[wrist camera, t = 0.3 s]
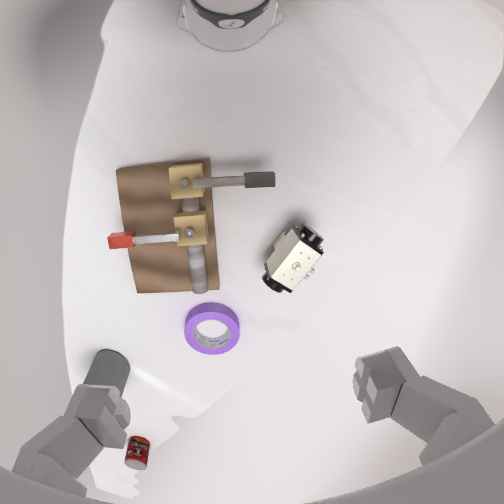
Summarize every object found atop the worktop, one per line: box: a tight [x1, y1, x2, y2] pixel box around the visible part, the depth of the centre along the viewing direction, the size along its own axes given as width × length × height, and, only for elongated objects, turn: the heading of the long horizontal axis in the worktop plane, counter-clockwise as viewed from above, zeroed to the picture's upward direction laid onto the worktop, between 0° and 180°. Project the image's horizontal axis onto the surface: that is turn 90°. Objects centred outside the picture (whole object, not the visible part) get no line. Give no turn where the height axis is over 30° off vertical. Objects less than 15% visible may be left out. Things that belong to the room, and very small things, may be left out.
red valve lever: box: [107, 227, 194, 249], centre depth 45 cm, size 2×14×3 cm, turn 92°
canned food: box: [125, 436, 150, 470], centre depth 76 cm, size 8×8×11 cm
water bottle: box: [83, 350, 130, 398], centre depth 53 cm, size 10×10×28 cm
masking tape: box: [184, 303, 240, 355], centre depth 61 cm, size 12×12×4 cm
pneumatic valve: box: [262, 224, 324, 293], centre depth 51 cm, size 6×12×12 cm, turn 145°
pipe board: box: [116, 158, 275, 294], centre depth 49 cm, size 25×27×10 cm
